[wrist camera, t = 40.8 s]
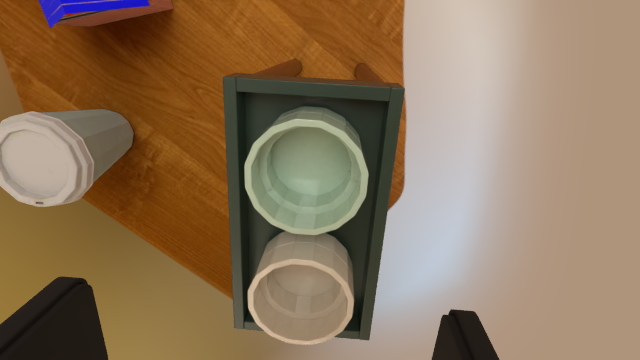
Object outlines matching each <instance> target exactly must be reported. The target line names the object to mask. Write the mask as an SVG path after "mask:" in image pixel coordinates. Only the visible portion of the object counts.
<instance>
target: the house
mask: <svg viewBox="0 0 640 360" xmlns="http://www.w3.org/2000/svg"><path fill="white" fill-rule="evenodd" d="M39 2H40V4H41V7H42V9H43V12H44V14H45V16H46V19H47V21H48V23H49V26H50V28H51V27H52V26H53V25H54V24H56V25H73V26H90V27H92V26H96V25H101V24H106V23H110V22H115V21H119V20H124V19H128V18H133V17H138V16H142V15H147V14H151V13H156V12H160V11H165V10H170V9H173V6H172V2H171V0H39Z"/></svg>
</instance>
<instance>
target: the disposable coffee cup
mask: <svg viewBox="0 0 640 360" xmlns="http://www.w3.org/2000/svg"><path fill="white" fill-rule="evenodd" d="M133 135H134V132H133V130H132V128H131V125H130V123H129V122H128V121H127V120H126V119H125V118H124V117H123V116H122V115H121V114H119V113H116V112H113V111H110V110H106V109H95V110H78V111H61V112H44V113H37V112H34V111H32V112H27V113H24V114H19V115H15V116H11V117H9V118H7V119H4V120H3V121H2V122H1V123H0V186H1V187H2V188H3V189H5V190H6V191H7V192H8V193H9V194H10V195H12V196H13V197H14V198H15V199H16V200H18V201H19V202H23V203H27V204H30V205H34V206H38V207H48V206H57V205H62V204H66V203H71V202H74V201H76V200H79V199H80V198H81V197H82V196H83V195H84V194H85V193H86V192H87V191H88V189H89V188H90V187H91V186H92V185H93V182H94V181H96V180H97V179H98V178H99V177H100V176H101V175H102V174H103V173H104V172H105V171H106V170H108V169H109V168H110V167H111V166H112V165H113V164H114V163H115V162H116V161H117V160H118V159H119V158H121V157H122V156H123V155H124V154H125V153H126V152H127V151H128V149H129V148H130V147H131V146H132V143H133Z"/></svg>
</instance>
